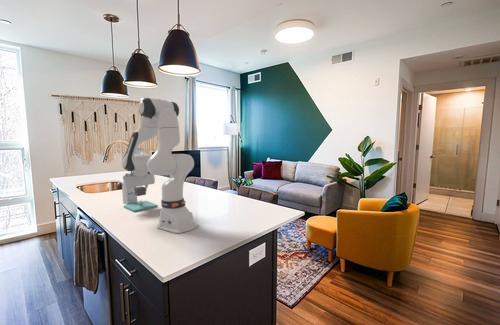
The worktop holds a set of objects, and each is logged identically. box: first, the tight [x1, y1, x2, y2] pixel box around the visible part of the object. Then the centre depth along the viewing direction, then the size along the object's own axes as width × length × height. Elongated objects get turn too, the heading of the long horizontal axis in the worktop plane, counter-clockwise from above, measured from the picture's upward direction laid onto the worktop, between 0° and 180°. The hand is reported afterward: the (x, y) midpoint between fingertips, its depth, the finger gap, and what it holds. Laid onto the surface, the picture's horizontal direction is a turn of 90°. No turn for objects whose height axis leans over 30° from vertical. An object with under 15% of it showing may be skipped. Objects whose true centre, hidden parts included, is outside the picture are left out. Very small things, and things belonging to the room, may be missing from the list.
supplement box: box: [121, 185, 138, 205], centre depth 171 cm, size 7×7×13 cm
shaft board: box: [123, 200, 159, 213], centre depth 161 cm, size 16×16×4 cm
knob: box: [134, 185, 147, 197], centre depth 160 cm, size 6×6×5 cm
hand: (139, 192), depth 160 cm, fingers closed on knob, 6 cm apart
